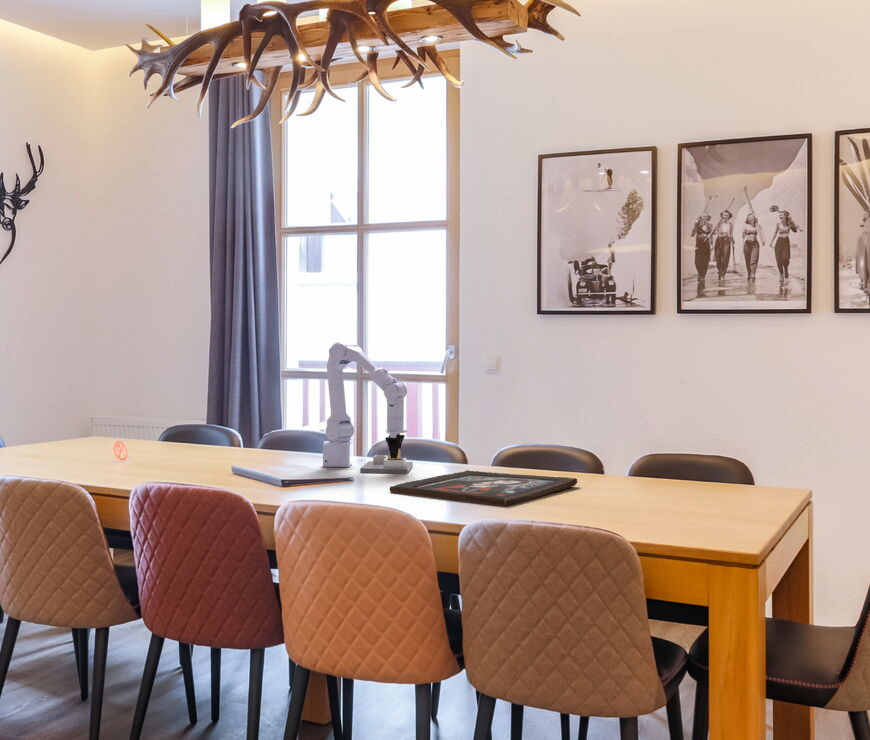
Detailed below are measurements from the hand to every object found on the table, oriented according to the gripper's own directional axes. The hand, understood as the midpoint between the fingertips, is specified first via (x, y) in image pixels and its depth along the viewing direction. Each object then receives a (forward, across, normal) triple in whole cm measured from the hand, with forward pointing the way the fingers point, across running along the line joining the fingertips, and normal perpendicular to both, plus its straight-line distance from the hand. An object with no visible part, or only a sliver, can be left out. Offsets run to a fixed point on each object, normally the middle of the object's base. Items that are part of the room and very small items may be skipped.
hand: (395, 456), depth 300 cm
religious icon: (+6, -39, -32) cm, 50 cm away
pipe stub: (+3, 0, 0) cm, 3 cm away
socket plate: (+5, +3, +3) cm, 6 cm away
